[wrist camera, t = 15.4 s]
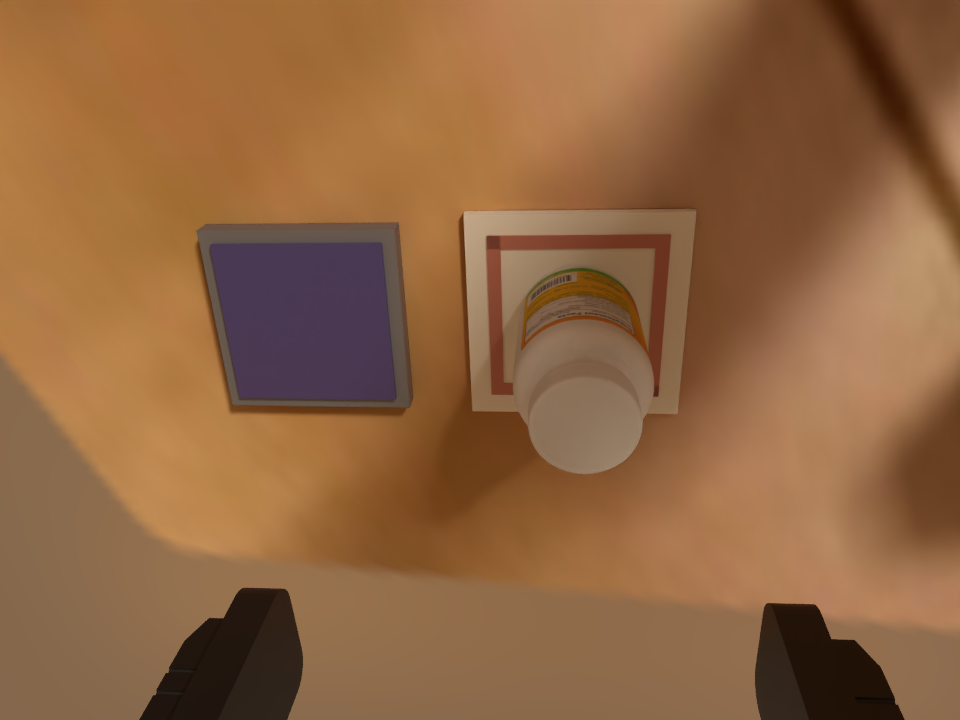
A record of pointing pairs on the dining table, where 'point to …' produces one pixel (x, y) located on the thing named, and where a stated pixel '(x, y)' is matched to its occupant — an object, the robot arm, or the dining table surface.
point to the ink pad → (310, 313)
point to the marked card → (575, 242)
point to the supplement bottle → (582, 370)
